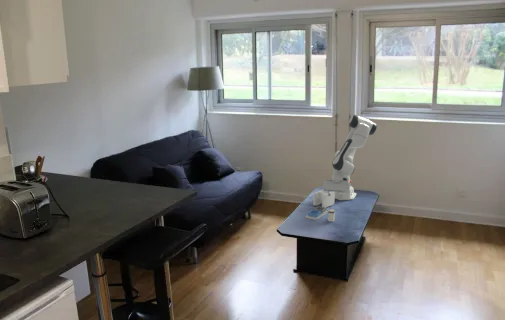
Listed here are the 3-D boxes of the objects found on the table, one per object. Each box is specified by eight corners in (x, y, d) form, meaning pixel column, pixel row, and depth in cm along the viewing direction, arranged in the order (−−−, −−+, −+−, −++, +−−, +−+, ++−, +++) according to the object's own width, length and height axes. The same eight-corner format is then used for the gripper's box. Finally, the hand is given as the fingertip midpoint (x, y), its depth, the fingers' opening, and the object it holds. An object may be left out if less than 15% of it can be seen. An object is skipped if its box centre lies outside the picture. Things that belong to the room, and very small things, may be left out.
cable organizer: (322, 209, 353) (322, 195, 351) (312, 206, 361) (312, 192, 358) (334, 204, 363) (334, 191, 360) (324, 201, 371) (324, 188, 368)
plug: (329, 219, 334) (329, 208, 332) (334, 219, 333) (334, 209, 331) (328, 221, 331) (328, 210, 329) (333, 221, 329) (333, 211, 327)
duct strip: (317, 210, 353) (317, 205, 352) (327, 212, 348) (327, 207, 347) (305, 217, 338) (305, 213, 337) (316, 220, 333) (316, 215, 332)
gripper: (323, 177, 346) (321, 193, 340) (350, 179, 340) (348, 195, 333) (324, 181, 352) (322, 197, 345) (351, 183, 345) (349, 199, 338)
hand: (335, 196), depth 339 cm, fingers open, 8 cm apart
